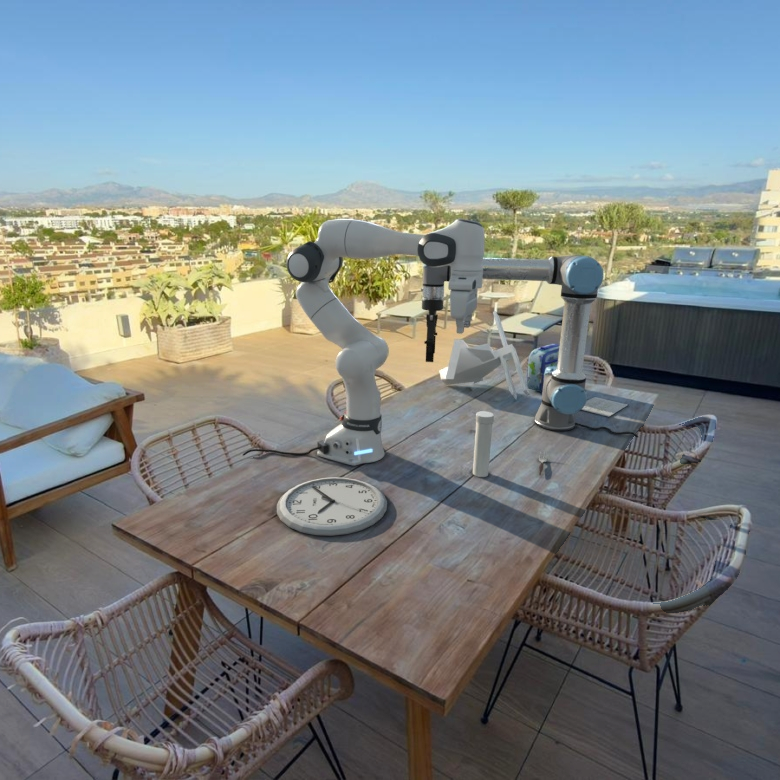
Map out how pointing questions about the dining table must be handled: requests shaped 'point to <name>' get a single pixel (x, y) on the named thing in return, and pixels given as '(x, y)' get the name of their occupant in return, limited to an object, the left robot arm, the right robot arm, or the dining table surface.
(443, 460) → the dining table surface
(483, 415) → the lid
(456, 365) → the white plastic object
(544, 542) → the dining table surface
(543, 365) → the lunch box
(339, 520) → the wall clock
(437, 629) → the dining table surface
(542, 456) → the fork
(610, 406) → the invitation card
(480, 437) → the white plastic cylinder
